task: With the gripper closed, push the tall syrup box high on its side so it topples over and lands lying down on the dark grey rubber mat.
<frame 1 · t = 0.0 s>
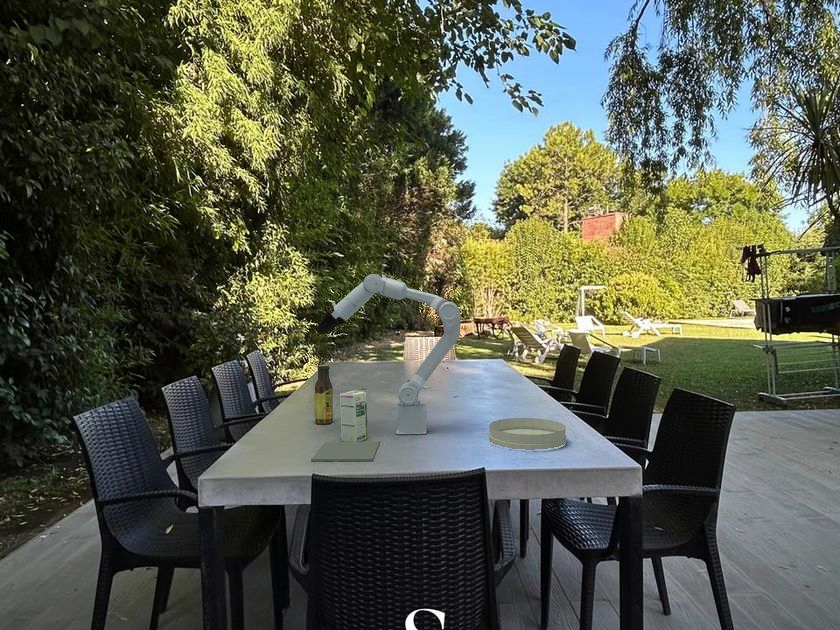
hand: (320, 331, 173), 32 cm above the table, tool tilted 50°, fingers open, 7 cm apart
sauce bottle: (324, 423, 188), on the table
syrup box: (354, 440, 164), on the table
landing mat: (347, 452, 151), on the table
dish: (527, 443, 159), on the table
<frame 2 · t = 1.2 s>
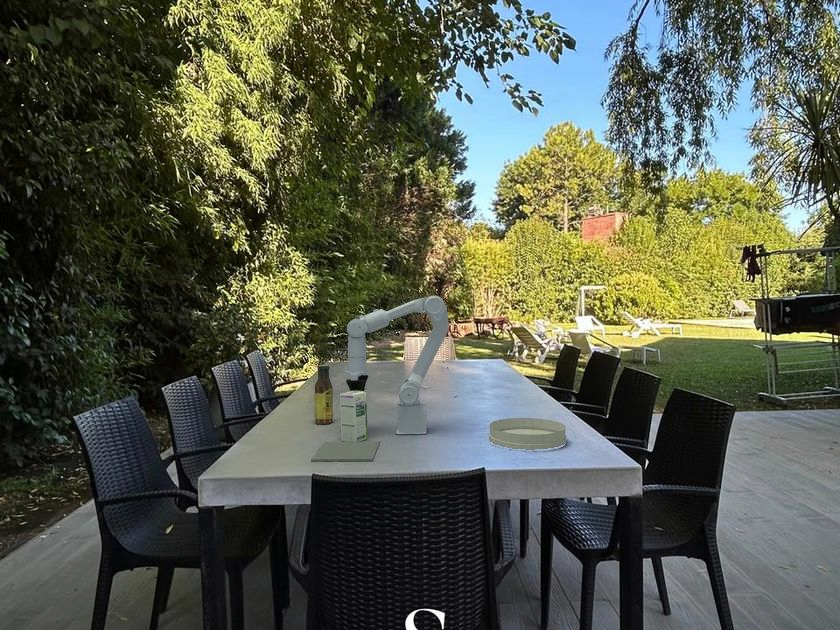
hand: (357, 400, 172), 10 cm above the table, tool pointing down, fingers open, 7 cm apart
nothing on the table moved.
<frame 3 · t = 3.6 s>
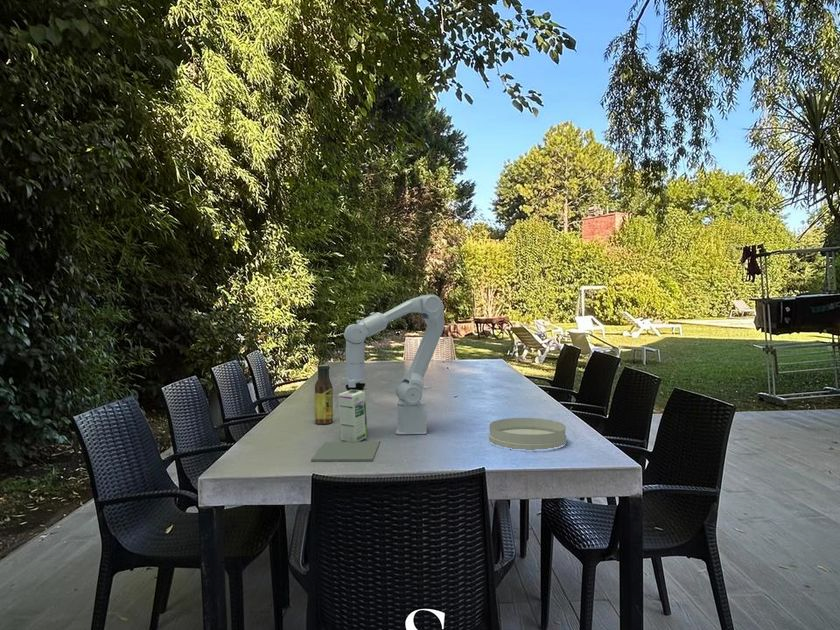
hand: (355, 407, 168), 9 cm above the table, tool pointing down, fingers closed
syrup box: (354, 439, 164), on the table, touching gripper
everything else where it was.
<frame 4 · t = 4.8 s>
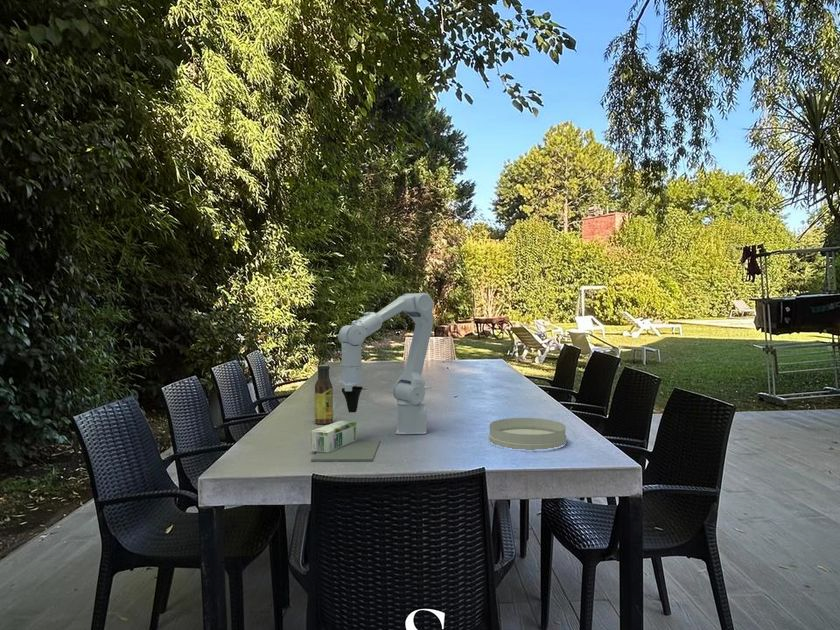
hand: (352, 412, 161), 9 cm above the table, tool pointing down, fingers closed
syrup box: (348, 430, 162), point 3 cm above the table, touching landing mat
everything else where it was.
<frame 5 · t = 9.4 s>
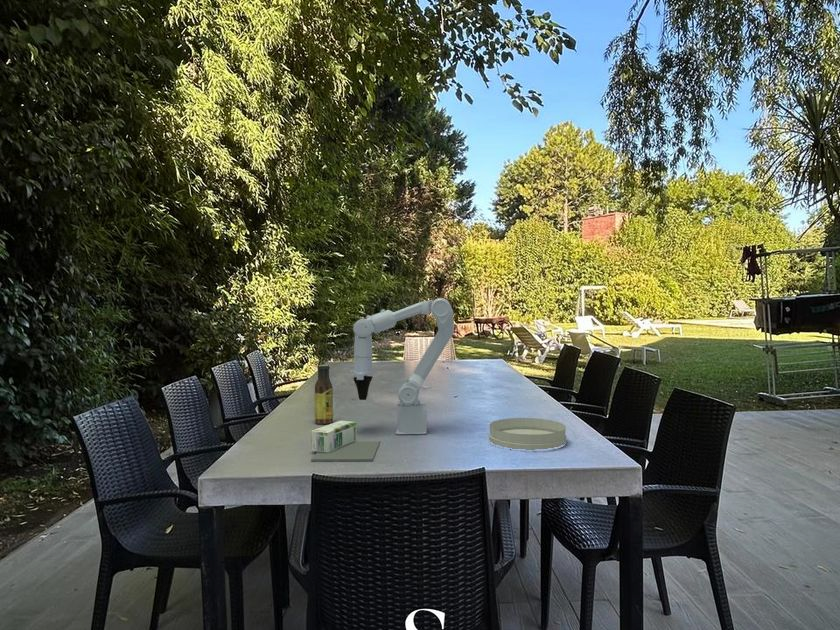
hand: (362, 399, 173), 10 cm above the table, tool pointing down, fingers closed
nothing on the table moved.
at the end: syrup box tilted 90°; syrup box inside the target area (5.8 cm from its centre), point 3.4 cm above the table; the gripper is holding nothing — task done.
